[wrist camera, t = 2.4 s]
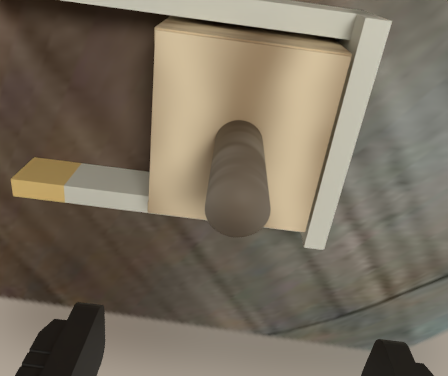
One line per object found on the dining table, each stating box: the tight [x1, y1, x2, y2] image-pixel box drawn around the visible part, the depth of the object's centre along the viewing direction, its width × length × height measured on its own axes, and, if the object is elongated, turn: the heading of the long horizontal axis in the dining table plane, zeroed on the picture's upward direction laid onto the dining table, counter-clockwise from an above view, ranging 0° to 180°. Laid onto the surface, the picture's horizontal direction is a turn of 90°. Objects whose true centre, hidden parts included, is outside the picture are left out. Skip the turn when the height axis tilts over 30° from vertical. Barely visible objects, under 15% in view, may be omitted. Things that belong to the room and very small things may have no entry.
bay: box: [11, 0, 392, 250], centre depth 29 cm, size 24×16×6 cm, turn 83°
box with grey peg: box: [147, 15, 352, 237], centre depth 25 cm, size 11×12×15 cm
